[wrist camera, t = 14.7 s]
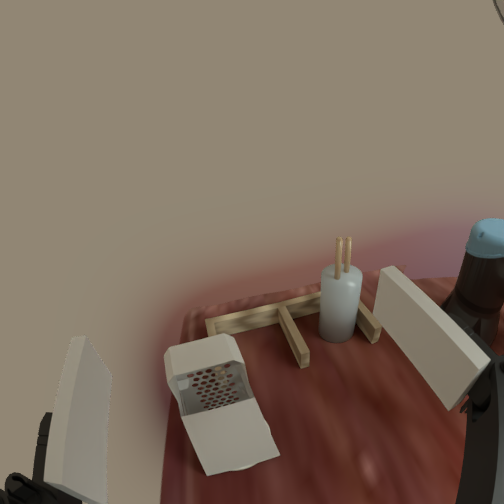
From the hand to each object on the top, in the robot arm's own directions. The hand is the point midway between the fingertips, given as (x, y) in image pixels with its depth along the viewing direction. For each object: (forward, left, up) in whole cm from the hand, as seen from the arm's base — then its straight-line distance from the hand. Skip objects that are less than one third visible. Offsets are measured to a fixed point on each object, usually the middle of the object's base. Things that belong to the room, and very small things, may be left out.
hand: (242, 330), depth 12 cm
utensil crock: (-20, -26, -32) cm, 46 cm away
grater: (+3, -10, -32) cm, 33 cm away
